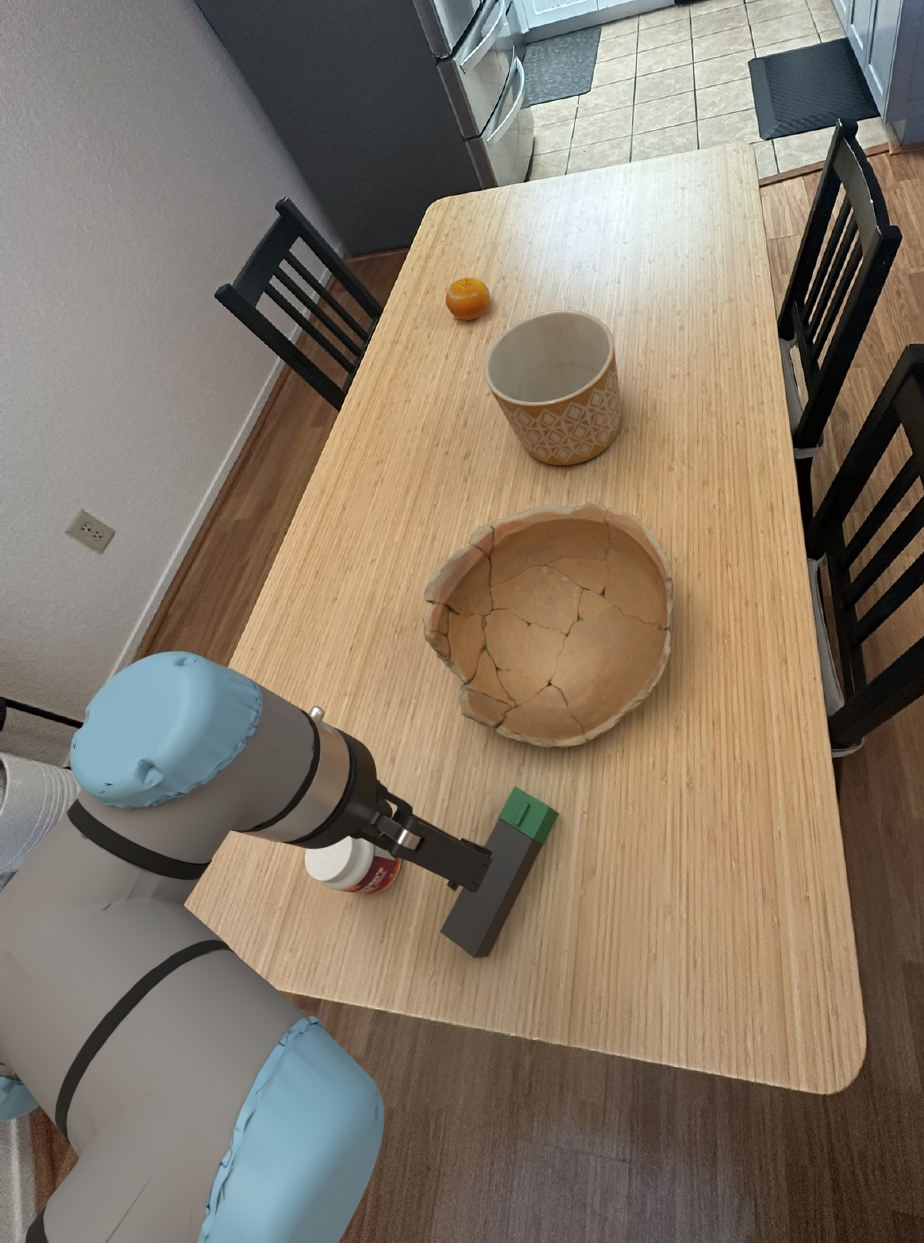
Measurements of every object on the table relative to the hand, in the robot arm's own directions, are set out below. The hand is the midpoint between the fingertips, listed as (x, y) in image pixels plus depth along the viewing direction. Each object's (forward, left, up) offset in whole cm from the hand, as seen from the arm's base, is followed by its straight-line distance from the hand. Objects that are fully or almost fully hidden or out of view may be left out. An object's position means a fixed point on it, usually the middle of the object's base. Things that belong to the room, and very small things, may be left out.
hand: (423, 827), depth 60 cm
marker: (0, -5, -15) cm, 16 cm away
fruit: (+78, +53, -15) cm, 96 cm away
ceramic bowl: (+26, +2, -15) cm, 30 cm away
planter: (+58, +19, -15) cm, 63 cm away
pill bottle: (-7, +10, -15) cm, 19 cm away
